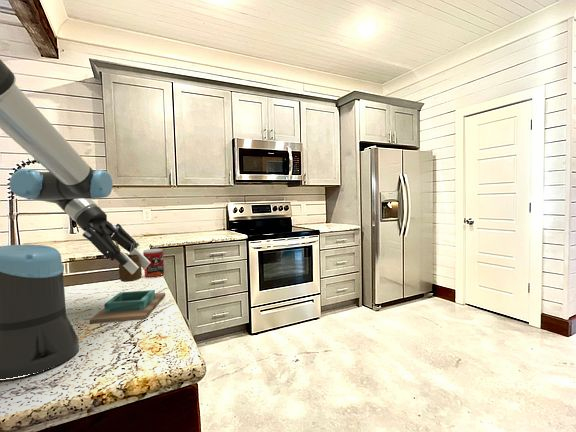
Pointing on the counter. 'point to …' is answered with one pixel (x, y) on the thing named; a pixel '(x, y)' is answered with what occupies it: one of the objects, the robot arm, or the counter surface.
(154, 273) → the canned food
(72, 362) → the counter surface
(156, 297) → the cradle jig
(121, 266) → the utensil holder
